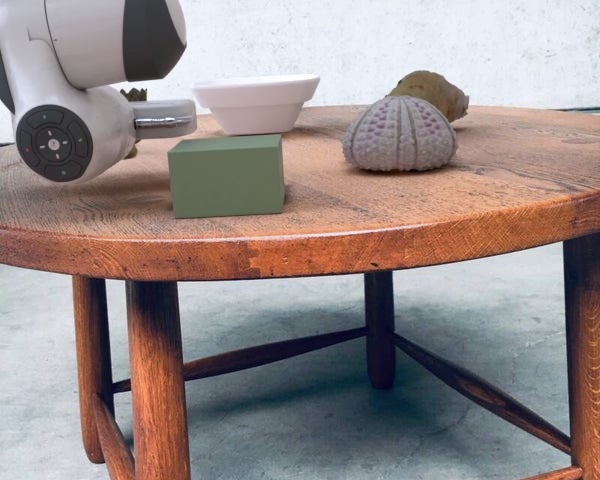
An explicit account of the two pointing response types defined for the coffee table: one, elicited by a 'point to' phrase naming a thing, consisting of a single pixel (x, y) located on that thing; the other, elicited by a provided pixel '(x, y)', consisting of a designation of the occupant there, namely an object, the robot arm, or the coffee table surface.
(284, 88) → the bowl
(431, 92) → the mineral
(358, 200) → the coffee table surface
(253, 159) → the block
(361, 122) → the sea urchin shell
